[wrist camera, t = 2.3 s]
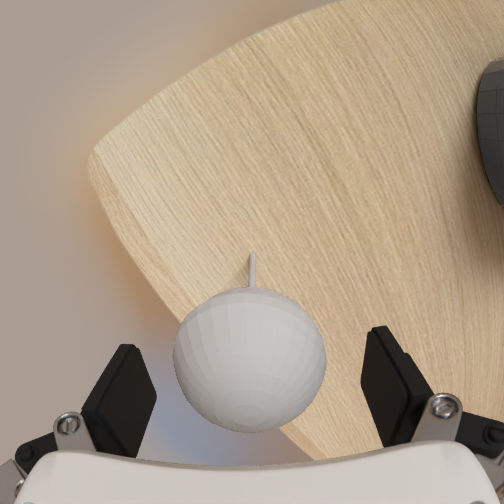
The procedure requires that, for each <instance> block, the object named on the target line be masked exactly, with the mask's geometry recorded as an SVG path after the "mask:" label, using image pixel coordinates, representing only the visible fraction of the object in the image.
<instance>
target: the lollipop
mask: <svg viewBox="0 0 504 504" xmlns="http://www.w3.org/2000/svg"><path fill="white" fill-rule="evenodd" d="M173 361H174V367H175V372H176V376H177V379H178V382H179V384H180V387H181V389H182V391H183V393H184V395H185V397H186V399H187V400H188V401H189V403H190V404H191V405H192V406H193V407H194V409H195V410H196V411H197V412H198V413H199V414H201V415H202V416H203V417H204V418H206V419H207V420H209V421H210V422H212V423H214V424H216V425H218V426H221V427H223V428H225V429H229V430H232V431H237V432H244V433H245V432H246V433H256V432H264V431H269V430H272V429H274V428H278V427H280V426H283V425H285V424H287V423H289V422H291V421H292V420H293V419H295V418H296V417H298V416H299V415H300V414H301V413H302V412H303V411H304V410H305V409H306V408H307V407H308V406H309V405H310V404H311V402H312V401H313V399H314V397H315V396H316V394H317V392H318V390H319V388H320V386H321V384H322V381H323V378H324V374H325V370H326V352H325V346H324V343H323V339H322V336H321V334H320V332H319V330H318V328H317V326H316V324H315V323H314V321H313V319H312V318H311V316H310V315H309V314H308V313H307V312H306V311H305V310H304V309H303V308H302V307H301V306H300V305H299V304H298V303H296V302H295V301H293V300H292V299H290V298H289V297H287V296H285V295H283V294H281V293H278V292H276V291H273V290H268V289H264V288H256V254H255V253H251V254H250V261H249V280H248V287H244V288H235V289H231V290H228V291H224V292H221V293H219V294H217V295H215V296H213V297H211V298H210V299H208V300H207V301H206V302H204V303H202V304H201V305H199V306H198V307H196V308H195V309H194V310H193V311H191V312H190V313H189V314H188V315H187V316H186V318H185V319H184V320H183V322H182V323H181V324H180V327H179V330H178V332H177V334H176V338H175V343H174V350H173Z"/></svg>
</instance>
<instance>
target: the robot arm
mask: <svg viewBox="0 0 504 504" xmlns="http://www.w3.org/2000/svg"><path fill="white" fill-rule="evenodd" d="M361 388H362V390H363V393H364V396H365V398H366V401H367V404H368V406H369V409H370V412H371V414H372V417H373V420H374V422H375V425H376V428H377V431H378V433H379V436H380V439H381V442H382V445H383V447H384V448H382V449H377V450H373V451H368V452H364V453H358V454H353V455H348V456H342V457H336V458H330V459H323V460H316V461H309V462H300V463H289V464H278V465H259V466H208V465H189V464H177V463H167V462H159V461H151V460H144V459H136V456H137V454H138V451H139V448H140V445H141V442H142V439H143V436H144V433H145V430H146V428H147V425H148V422H149V419H150V416H151V413H152V411H153V408H154V405H155V402H156V398H157V395H156V391H155V389H154V386H153V384H152V382H151V379H150V376H149V374H148V371H147V368H146V366H145V363H144V361H143V358H142V355H141V352H140V350H139V348H136V346H135V345H133V344H121V345H120V346H119V347H118V349H117V350H116V352H115V354H114V355H113V357H112V359H111V360H110V362H109V364H108V365H107V367H106V368H105V370H104V371H103V373H102V375H101V376H100V378H99V380H98V381H97V383H96V385H95V386H94V388H93V390H92V391H91V393H90V395H89V396H88V398H87V400H86V402H85V403H84V405H83V407H82V411H81V413H80V414H79V413H77V412H67V413H64V414H62V415H60V416H59V417H58V418H57V419H56V420H55V422H54V425H53V431H54V432H52V433H49V434H47V435H44V436H42V437H39V438H37V439H35V440H32V441H29V442H27V443H25V444H22V445H21V446H20V447H19V448H18V449H17V451H16V454H15V460H14V461H13V460H12V459H10V460H8V461H7V462H6V463H4V464H3V465H1V466H0V504H504V423H502V422H500V421H496V420H493V419H489V418H485V417H481V416H478V415H474V414H471V413H467V412H464V411H462V410H463V406H462V403H461V401H460V400H459V399H458V398H457V397H456V396H454V395H452V394H449V393H438V394H436V395H434V393H433V391H432V390H431V388H430V386H429V385H428V383H427V382H426V380H425V378H424V377H423V375H422V374H421V372H420V370H419V369H418V367H417V366H416V364H415V363H414V361H413V359H412V358H411V356H410V355H409V354H408V353H404V352H403V350H402V348H401V347H400V345H399V344H398V342H397V341H396V339H395V338H394V336H393V335H392V333H391V332H390V330H389V329H388V327H387V326H379V327H373V328H372V330H371V331H370V332H368V333H367V340H366V348H365V355H364V362H363V368H362V374H361Z"/></svg>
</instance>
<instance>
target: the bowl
mask: <svg viewBox="0 0 504 504" xmlns="http://www.w3.org/2000/svg"><path fill="white" fill-rule="evenodd" d="M477 124H478V138H479V144H480V149H481V154H482V159H483V164H484V167H485V170H486V173H487V176H488V179H489V182H490V186H491V187H492V189H493V191H494V193H495V195H496V197H497V199H498V201H499V202H500V204H501V205H502V206H503V207H504V57H500V58H498V59H496V60H494V61H492V62H491V63H490V64H489V65H488V67H487V69H486V70H485V72H484V73H483V75H482V79H481V83H480V87H479V90H478V103H477Z"/></svg>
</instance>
